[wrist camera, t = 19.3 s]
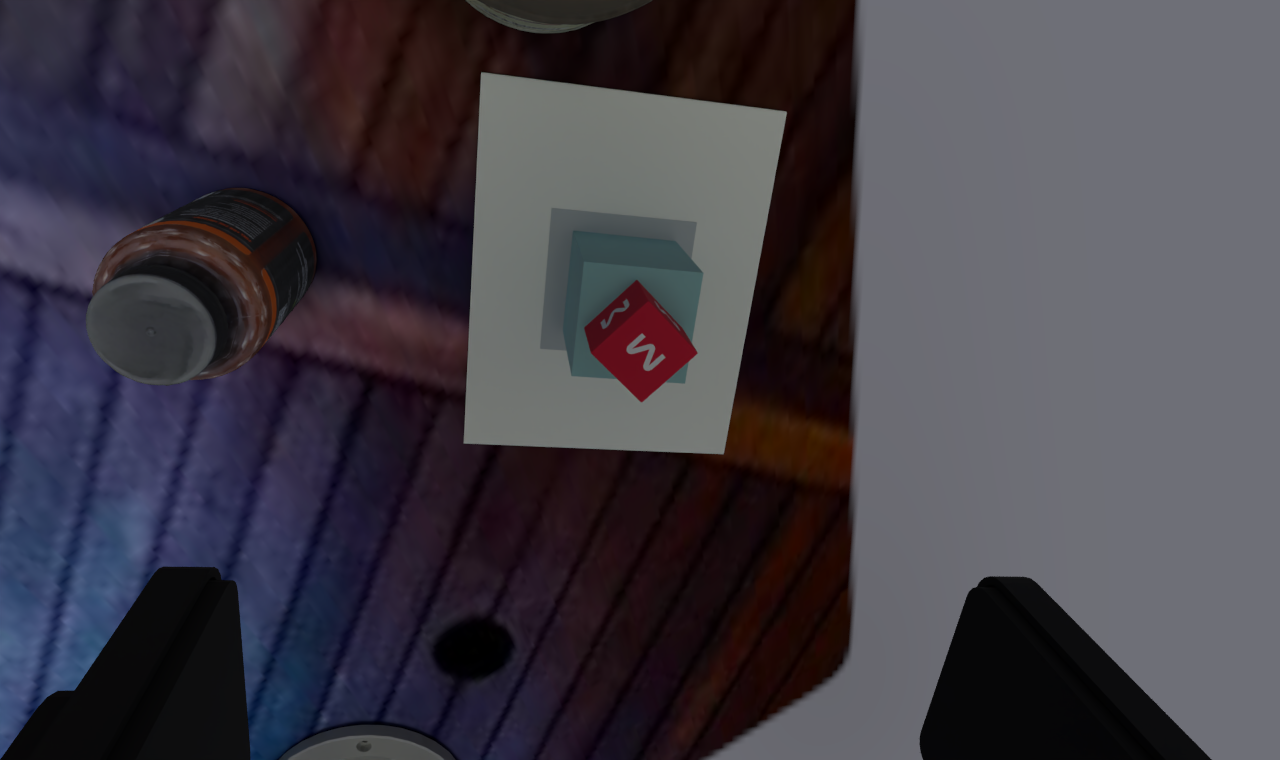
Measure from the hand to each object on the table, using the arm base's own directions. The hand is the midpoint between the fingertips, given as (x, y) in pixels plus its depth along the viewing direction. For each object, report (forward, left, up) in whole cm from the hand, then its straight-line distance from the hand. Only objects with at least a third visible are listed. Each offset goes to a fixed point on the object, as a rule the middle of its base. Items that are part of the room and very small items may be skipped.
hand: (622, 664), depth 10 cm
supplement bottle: (-3, +13, -31) cm, 33 cm away
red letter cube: (-3, -4, -23) cm, 24 cm away
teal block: (-3, -4, -29) cm, 30 cm away
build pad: (-3, -4, -30) cm, 31 cm away
